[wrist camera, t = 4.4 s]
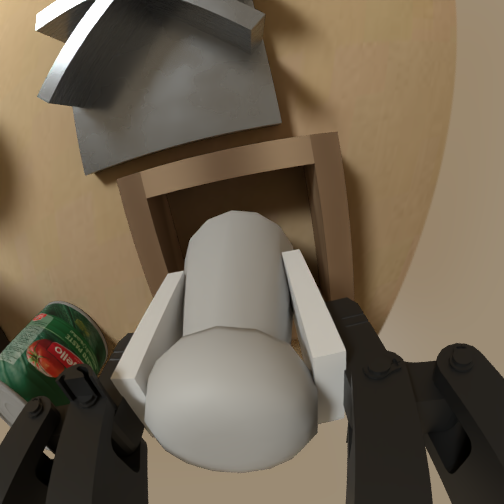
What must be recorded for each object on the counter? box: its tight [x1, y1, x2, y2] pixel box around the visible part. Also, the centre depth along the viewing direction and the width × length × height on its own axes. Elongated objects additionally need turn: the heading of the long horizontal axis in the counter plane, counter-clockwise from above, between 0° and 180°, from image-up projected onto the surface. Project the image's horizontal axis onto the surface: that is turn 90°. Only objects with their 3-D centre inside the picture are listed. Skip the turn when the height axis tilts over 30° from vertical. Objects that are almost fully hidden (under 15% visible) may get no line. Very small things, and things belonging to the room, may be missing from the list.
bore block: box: [117, 132, 354, 340], centre depth 17 cm, size 12×12×4 cm
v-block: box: [36, 0, 282, 175], centre depth 12 cm, size 13×12×5 cm
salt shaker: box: [144, 210, 318, 473], centre depth 11 cm, size 6×6×13 cm
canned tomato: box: [0, 301, 108, 451], centre depth 17 cm, size 8×8×11 cm
